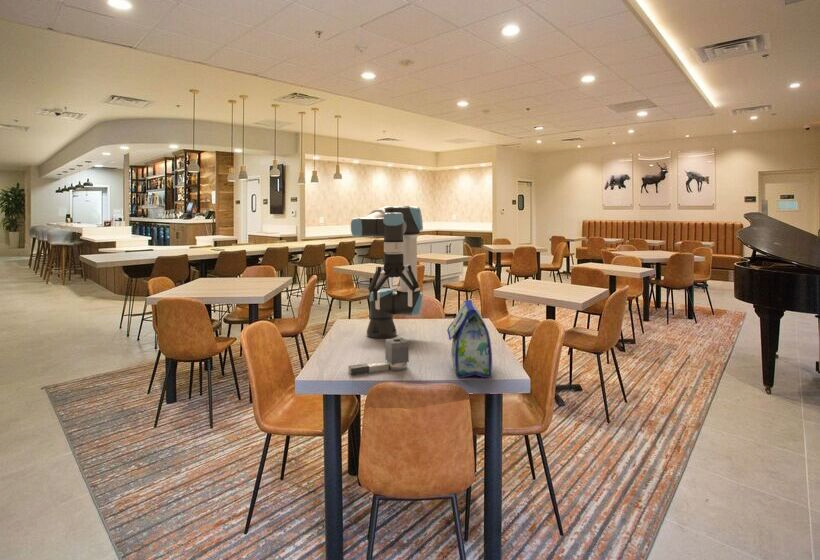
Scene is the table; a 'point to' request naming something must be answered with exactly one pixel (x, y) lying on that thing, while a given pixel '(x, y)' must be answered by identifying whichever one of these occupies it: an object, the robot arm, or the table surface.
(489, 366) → the lunch bag
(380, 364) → the chrome ball-end bar
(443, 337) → the table surface
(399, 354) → the grey square block
